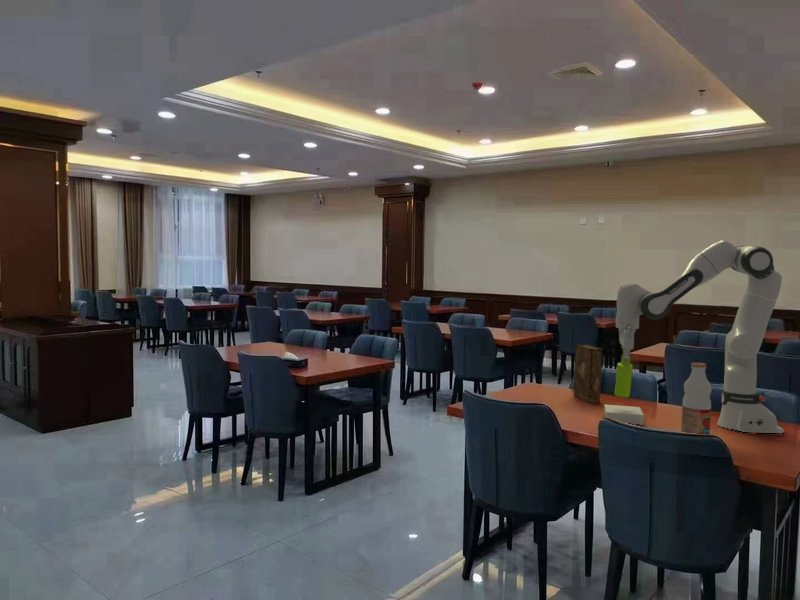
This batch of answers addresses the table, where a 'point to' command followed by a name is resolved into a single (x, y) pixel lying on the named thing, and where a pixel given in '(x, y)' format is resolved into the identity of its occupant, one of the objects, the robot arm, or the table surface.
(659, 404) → the table surface
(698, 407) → the fruit juice
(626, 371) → the soap dispenser
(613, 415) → the plinth
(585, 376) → the book
